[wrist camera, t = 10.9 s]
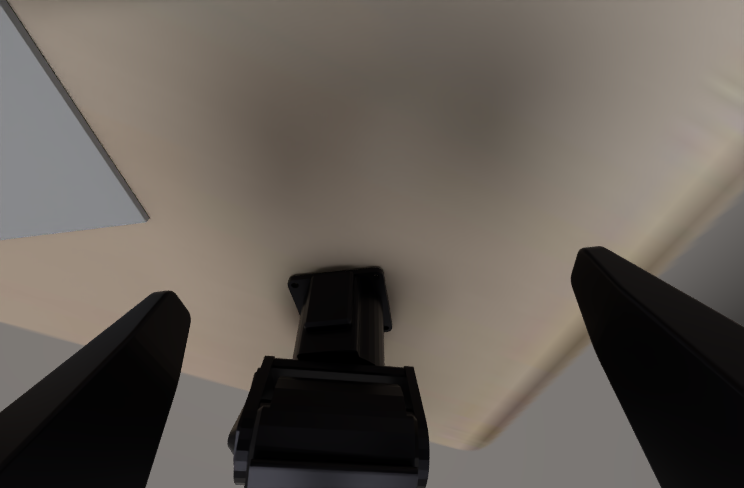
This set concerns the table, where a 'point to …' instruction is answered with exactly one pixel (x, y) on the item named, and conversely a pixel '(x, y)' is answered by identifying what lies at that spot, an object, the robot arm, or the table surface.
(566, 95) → the table surface
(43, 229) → the mat
